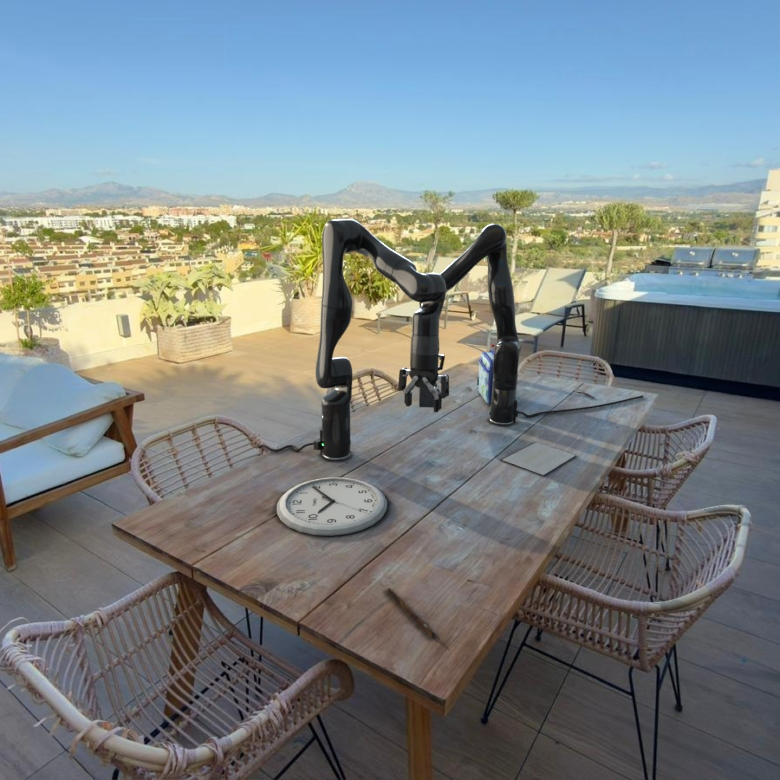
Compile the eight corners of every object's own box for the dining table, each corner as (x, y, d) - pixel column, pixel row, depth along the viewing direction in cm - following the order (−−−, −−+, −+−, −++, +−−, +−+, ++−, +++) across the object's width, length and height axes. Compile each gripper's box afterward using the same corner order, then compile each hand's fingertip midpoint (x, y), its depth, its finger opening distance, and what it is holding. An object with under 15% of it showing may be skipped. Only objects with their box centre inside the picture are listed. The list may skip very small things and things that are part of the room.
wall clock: (392, 527, 129) (268, 531, 127) (391, 533, 130) (269, 537, 127) (383, 473, 158) (282, 475, 155) (383, 478, 158) (282, 480, 156)
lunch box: (475, 390, 246) (478, 346, 240) (498, 390, 246) (501, 347, 240) (484, 408, 221) (487, 360, 215) (509, 409, 221) (513, 360, 215)
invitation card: (535, 442, 186) (575, 454, 176) (535, 442, 187) (575, 455, 176) (502, 459, 172) (543, 474, 162) (502, 460, 172) (543, 475, 162)
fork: (592, 399, 235) (592, 395, 235) (571, 389, 250) (572, 385, 249) (597, 399, 236) (597, 394, 235) (576, 388, 251) (576, 384, 250)
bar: (418, 387, 215) (419, 366, 213) (433, 388, 215) (434, 366, 212) (419, 407, 192) (420, 383, 190) (435, 407, 192) (436, 383, 189)
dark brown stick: (387, 592, 109) (387, 587, 109) (388, 591, 109) (388, 587, 109) (431, 637, 97) (431, 633, 97) (433, 636, 97) (433, 632, 97)
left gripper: (394, 349, 138) (393, 407, 143) (443, 357, 131) (440, 417, 136) (407, 344, 144) (406, 400, 149) (455, 351, 138) (452, 409, 142)
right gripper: (409, 339, 202) (408, 381, 207) (447, 340, 201) (445, 382, 206) (409, 336, 209) (408, 376, 214) (446, 336, 208) (444, 377, 213)
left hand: (422, 408), depth 143 cm, fingers open, 8 cm apart
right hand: (426, 379), depth 210 cm, fingers closed on bar, 6 cm apart
